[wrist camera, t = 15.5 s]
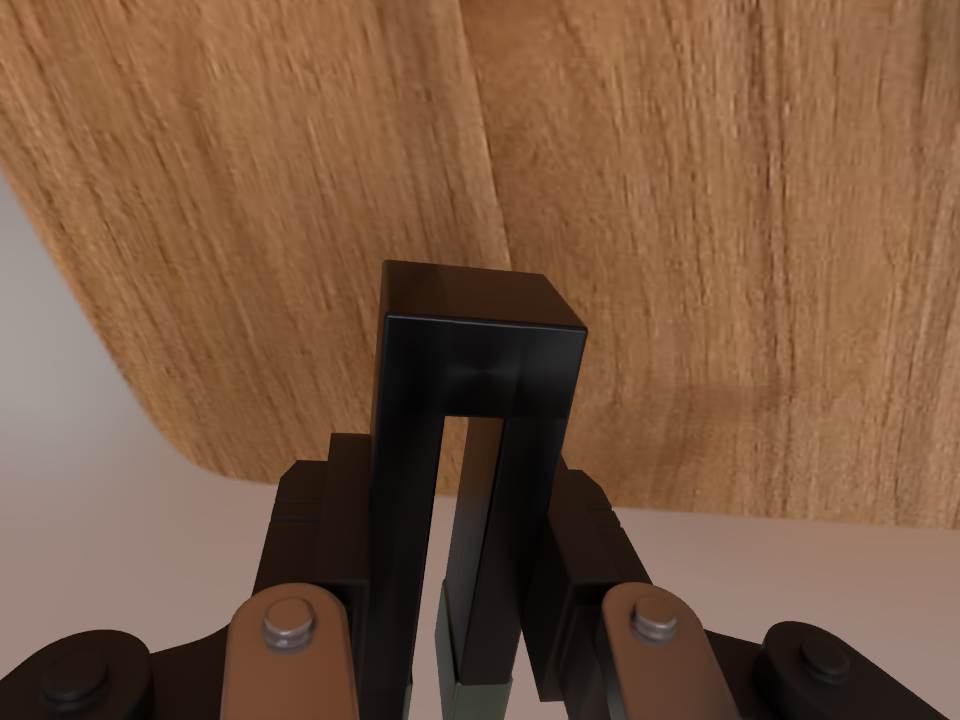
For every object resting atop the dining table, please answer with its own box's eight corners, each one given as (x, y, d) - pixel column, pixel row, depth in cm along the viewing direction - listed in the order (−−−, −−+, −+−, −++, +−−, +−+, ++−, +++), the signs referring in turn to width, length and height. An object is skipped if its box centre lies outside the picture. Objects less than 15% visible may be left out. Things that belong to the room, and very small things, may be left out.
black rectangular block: (480, 633, 13) (500, 743, 11) (352, 636, 13) (345, 751, 11) (547, 273, 10) (594, 329, 8) (379, 257, 10) (379, 311, 7)
